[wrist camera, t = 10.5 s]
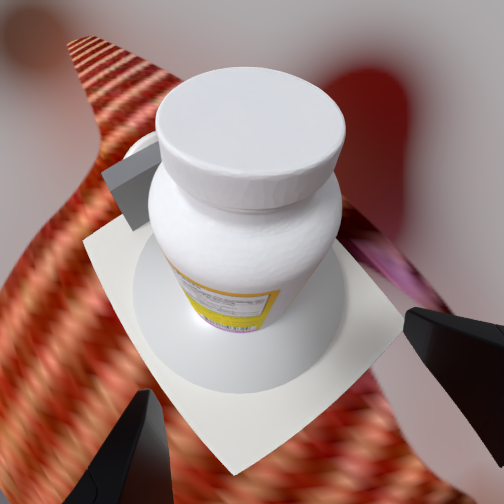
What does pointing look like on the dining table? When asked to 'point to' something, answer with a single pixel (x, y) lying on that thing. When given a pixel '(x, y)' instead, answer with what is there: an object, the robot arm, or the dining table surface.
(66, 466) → the dining table surface
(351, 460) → the dining table surface
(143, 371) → the dining table surface
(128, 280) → the kitchen scale
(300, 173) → the supplement bottle
